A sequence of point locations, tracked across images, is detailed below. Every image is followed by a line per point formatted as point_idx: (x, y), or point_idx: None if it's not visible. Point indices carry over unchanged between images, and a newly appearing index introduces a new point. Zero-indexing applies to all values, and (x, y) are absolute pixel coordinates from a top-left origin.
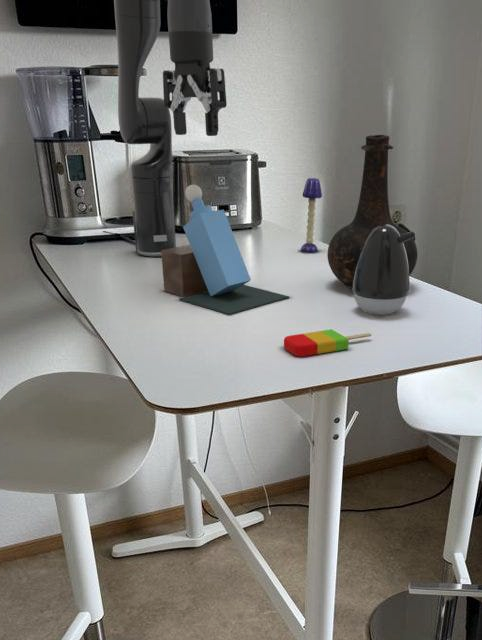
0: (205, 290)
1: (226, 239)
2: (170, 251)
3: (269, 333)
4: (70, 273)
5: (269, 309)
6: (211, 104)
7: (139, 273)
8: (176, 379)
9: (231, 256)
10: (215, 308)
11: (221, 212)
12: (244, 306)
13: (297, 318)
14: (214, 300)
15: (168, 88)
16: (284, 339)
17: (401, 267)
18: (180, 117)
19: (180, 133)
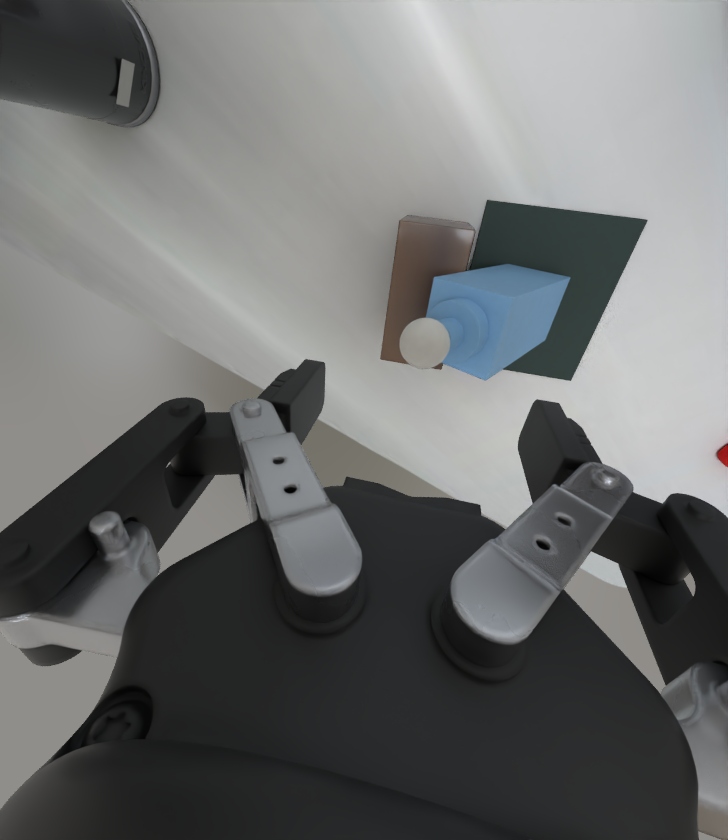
0: None
1: (530, 316)
2: (404, 359)
3: (672, 416)
4: (188, 336)
5: (628, 315)
6: (602, 549)
7: (260, 261)
8: None
9: (542, 314)
10: (535, 371)
11: (511, 310)
12: (579, 337)
13: (704, 332)
14: None
15: (163, 540)
16: (725, 465)
17: None
18: (300, 425)
19: (323, 395)
